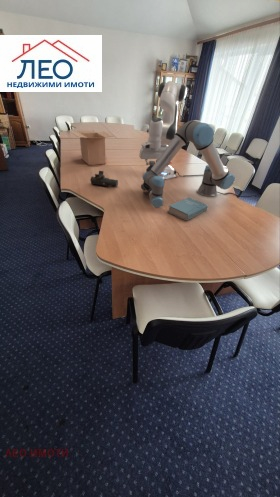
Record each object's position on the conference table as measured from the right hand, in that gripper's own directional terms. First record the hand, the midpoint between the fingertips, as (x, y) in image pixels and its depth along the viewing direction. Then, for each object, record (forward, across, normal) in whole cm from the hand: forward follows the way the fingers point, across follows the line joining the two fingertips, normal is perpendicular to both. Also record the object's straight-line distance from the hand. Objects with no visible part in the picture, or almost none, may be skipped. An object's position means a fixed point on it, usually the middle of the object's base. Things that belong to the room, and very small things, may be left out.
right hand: (149, 182), depth 176 cm
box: (+80, -48, -6) cm, 93 cm away
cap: (-5, 0, +17) cm, 18 cm away
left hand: (-5, 0, +15) cm, 16 cm away
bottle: (-5, 0, -6) cm, 8 cm away
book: (-38, +22, -6) cm, 44 cm away
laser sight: (+9, -36, -6) cm, 38 cm away
